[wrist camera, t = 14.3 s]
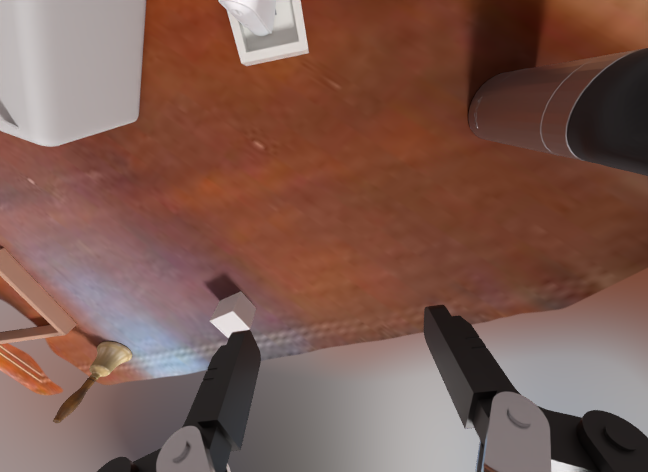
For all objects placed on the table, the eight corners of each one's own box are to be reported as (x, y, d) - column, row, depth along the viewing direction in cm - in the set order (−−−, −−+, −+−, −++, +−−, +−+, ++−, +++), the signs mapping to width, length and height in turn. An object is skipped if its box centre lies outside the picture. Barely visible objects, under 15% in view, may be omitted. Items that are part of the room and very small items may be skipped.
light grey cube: (219, 300, 55) (209, 320, 50) (241, 290, 54) (232, 310, 49) (236, 316, 58) (227, 338, 53) (256, 308, 57) (250, 329, 51)
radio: (75, -89, 27) (-955, -901, 5) (154, -46, 29) (-370, -518, 7) (82, 112, 37) (-271, 125, 15) (141, 135, 38) (-97, 178, 16)
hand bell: (113, 364, 66) (57, 434, 52) (90, 345, 62) (23, 415, 48) (139, 357, 65) (89, 427, 51) (117, 337, 61) (57, 407, 47)
